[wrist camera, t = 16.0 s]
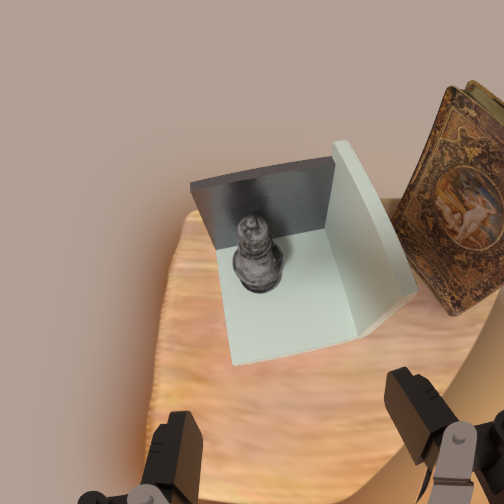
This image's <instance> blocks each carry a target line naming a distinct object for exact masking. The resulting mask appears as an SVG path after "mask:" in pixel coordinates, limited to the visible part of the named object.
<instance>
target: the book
mask: <svg viewBox="0 0 504 504" xmlns="http://www.w3.org/2000/svg"><path fill="white" fill-rule="evenodd" d="M390 222H391V224H392V226H393V228H394V230H395V233H396V235H397V237H398V239H399V242H400V244H401V246H402V249H403V251H404V253H405V256H406V258H407V261H408V263H409V264H410V265H411V266H412V268H413V269H414V270H415V271H416V273H417V274H418V275H419V276H420V278H421V279H422V280H423V281H424V283H425V284H426V285H427V286H428V288H429V289H430V290H431V292H432V293H433V294H434V296H435V297H436V298H437V300H438V301H439V302H440V304H441V305H442V306H443V308H444V309H445V310H446V312H447V313H448V315H449V316H458V315H460V314H461V313H463V312H465V311H466V310H468V309H469V308H471V307H472V306H474V305H476V304H477V303H479V302H480V301H482V300H483V299H485V298H486V297H488V296H489V295H490V294H492V293H493V292H495V291H496V290H498V289H499V288H500V287H502V286H503V285H504V102H502V101H501V100H500V99H499V98H498V97H496V96H495V95H494V94H492V93H491V92H490V91H489V90H487V89H486V88H485V87H483V86H482V85H480V84H479V83H478V82H476V81H474V80H471V81H469V82H468V83H467V86H466V88H465V90H462V89H459V88H457V87H456V86H449V87H448V88H447V89H446V91H445V94H444V96H443V99H442V102H441V105H440V108H439V111H438V113H437V116H436V119H435V121H434V124H433V127H432V130H431V132H430V135H429V137H428V140H427V142H426V145H425V147H424V150H423V152H422V154H421V157H420V159H419V162H418V164H417V166H416V168H415V171H414V173H413V175H412V177H411V180H410V182H409V184H408V186H407V188H406V190H405V193H404V195H403V197H402V199H401V201H400V203H399V205H398V207H397V209H396V211H395V213H394V215H393V217H392V219H391V221H390Z"/></svg>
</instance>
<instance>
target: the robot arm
mask: <svg viewBox="0 0 504 504" xmlns="http://www.w3.org/2000/svg"><path fill="white" fill-rule="evenodd" d="M384 402H385V406H386V409H387V411H388V413H389V415H390V417H391V419H392V420H393V422H394V424H395V426H396V428H397V430H398V432H399V434H400V436H401V438H402V439H403V441H404V443H405V445H406V447H407V449H408V451H409V453H410V455H411V457H412V459H413V461H414V463H415V465H418V464H420V463H423V462H425V464H426V466H427V468H426V470H425V473H424V477H423V480H422V483H421V486H420V489H419V491H418V494H417V497H416V500H415V502H414V504H470V501H471V497H472V493H473V488H474V487H473V486H474V483H473V482H471V473H472V472H473V471H474V472H475V474H476V476H477V478H478V480H479V482H480V484H481V486H482V488H483V490H484V493H485V495H486V497H487V498H488V501H489V503H490V504H504V410H503V411H501V412H500V413H499V414H497V416H496V418H495V419H494V421H492V422H488V423H484V424H480V425H476V426H473V425H472V424H470V423H468V422H464V421H459V420H458V419H457V417H456V416H455V415H454V413H453V412H452V411H451V409H450V408H449V407H448V405H447V404H446V403H445V401H444V400H443V398H442V397H441V396H439V393H438V392H437V390H436V389H434V387H433V385H432V384H431V383H430V381H429V380H428V379H426V378H425V377H423V376H421V375H419V374H417V375H414V376H413V375H412V374H411V372H410V371H409V370H408V368H407V367H402V368H399V369H396V370H393V371H390V372H388V373H387V379H386V387H385V394H384ZM202 450H203V438H202V434H201V432H200V430H199V428H198V426H197V424H196V422H195V420H194V418H193V416H192V414H191V412H190V411H175V412H171V413H170V415H169V419H168V423H167V424H160V426H159V427H158V428H157V430H156V431H155V432H154V434H153V438H152V441H151V445H150V449H149V453H148V457H147V461H146V465H145V469H144V473H143V477H142V481H141V483H140V485H139V486H136V487H134V488H133V489H132V490H131V491H130V492H129V494H126V495H121V496H114V497H106V496H104V495H103V494H102V493H100V492H97V491H89V492H86V493H85V494H83V495H82V496H81V497H80V499H79V500H78V504H198V493H199V482H200V471H201V461H202Z"/></svg>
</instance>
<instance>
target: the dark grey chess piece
mask: <svg viewBox="0 0 504 504" xmlns="http://www.w3.org/2000/svg"><path fill="white" fill-rule="evenodd" d="M237 233H238V236H239V240H238V244H237V247H238V248H237V250H236V251H235V253H234V255H233V259H232V266H233V270H234V272H235V274H236V275H237V277H238V278H239V279H240V282H241V283H242V285H243V286H244V287H245V288H246V289H247V290H248V291H250V292H252V293H257V294H264V293H267V292H270V291H272V290H273V289H275V288H276V287H277V286H278V285H279V283H280V281H281V278H282V270H283V268H284V264H285V259H284V254H283V251H282V250H281V248H280V247H279V246H278V245H277V244H276V243H275V242H273V239H272V237H271V235H270V234H269V233H268V226H267V223H266V221H265V220H264V219H263V218H262V217H260V216H256V215H250V216H247V217H245V218H243V219H242V220H241V221H240V223H239V224H238V228H237Z"/></svg>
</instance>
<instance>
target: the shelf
mask: <svg viewBox="0 0 504 504" xmlns="http://www.w3.org/2000/svg"><path fill="white" fill-rule="evenodd" d="M190 190H191V193H192V196H193V198H194V201H195V203H196V206H197V208H198V210H199V213H200V215H201V217H202V220H203V222H204V224H205V226H206V229H207V231H208V233H209V236H210V238H211V240H212V242H213V245H214V247H215V249H216V254H217V262H218V270H219V277H220V285H221V292H222V299H223V306H224V313H225V319H226V326H227V333H228V339H229V346H230V352H231V358H232V364H233V365H234V366H240V365H246V364H252V363H257V362H263V361H268V360H273V359H278V358H283V357H288V356H292V355H297V354H301V353H306V352H310V351H314V350H318V349H322V348H326V347H330V346H334V345H338V344H342V343H346V342H349V341H353V340H356V339H360V338H363V337H366V336H367V335H368V334H370V333H371V332H372V331H373V330H375V329H376V328H377V327H378V326H380V325H381V324H382V323H383V322H384V321H386V320H387V319H388V318H389V317H390V316H392V315H393V314H394V313H395V312H396V311H397V310H399V309H400V308H401V307H402V306H403V305H404V304H405V303H407V302H408V301H409V300H410V299H411V298H412V297H413V296H414V295H415V294H417V293H418V292H419V289H418V287H417V284H416V281H415V279H414V276H413V273H412V271H411V268H410V266H409V263H408V261H407V258H406V256H405V253H404V251H403V249H402V246H401V244H400V242H399V239H398V237H397V235H396V233H395V230H394V228H393V226H392V224H391V222H390V219H389V217H388V215H387V213H386V211H385V209H384V207H383V205H382V203H381V201H380V199H379V197H378V195H377V193H376V191H375V189H374V187H373V185H372V183H371V181H370V179H369V178H368V176H367V174H366V172H365V170H364V168H363V166H362V165H361V163H360V161H359V160H358V158H357V156H356V154H355V152H354V151H353V149H352V147H351V146H350V144H349V142H348V140H344V141H336V142H333V150H332V156H330V157H323V158H316V159H309V160H303V161H296V162H290V163H284V164H279V165H272V166H267V167H261V168H256V169H251V170H246V171H241V172H236V173H231V174H226V175H222V176H217V177H213V178H208V179H204V180H199V181H195V182H191V183H190ZM250 215H256V216H260V217H262V218H263V219H264V220H265V221H266V223H267V226H268V233H269V234H270V235H271V237H272V239H273V242H275V243H276V244H277V245H278V246H279V247H280V248H281V250H282V251H283V254H284V259H285V264H284V268H283V270H282V278H281V281H280V283H279V285H278V286H277V287H276V288H275V289H273V290H272V291H270V292H267V293H264V294H257V293H252V292H250V291H248V290H247V289H246V288H245V287H244V286H243V285H242V283H241V282H240V279H239V278H238V277H237V275H236V274H235V272H234V270H233V266H232V259H233V255H234V253H235V251H236V250H237V248H238V247H237V244H238V240H239V236H238V233H237V228H238V224H239V223H240V221H241V220H242V219H243V218H245V217H247V216H250Z"/></svg>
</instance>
